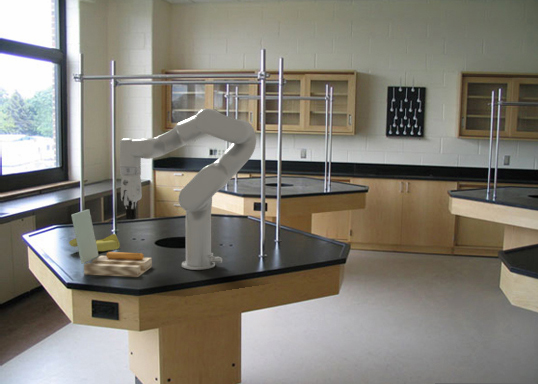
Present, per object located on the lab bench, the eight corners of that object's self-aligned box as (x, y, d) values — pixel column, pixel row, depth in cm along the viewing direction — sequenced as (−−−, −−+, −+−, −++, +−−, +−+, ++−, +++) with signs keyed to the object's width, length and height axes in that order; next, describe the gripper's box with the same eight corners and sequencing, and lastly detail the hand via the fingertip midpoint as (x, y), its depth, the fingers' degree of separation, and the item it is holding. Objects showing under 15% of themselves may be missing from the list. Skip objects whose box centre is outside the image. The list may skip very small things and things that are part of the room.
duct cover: (89, 209, 204) (86, 209, 204) (73, 214, 192) (71, 214, 192) (98, 255, 206) (96, 256, 206) (83, 263, 194) (81, 263, 194)
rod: (144, 259, 202) (144, 252, 202) (142, 260, 200) (142, 254, 199) (108, 257, 204) (107, 251, 204) (105, 258, 202) (105, 252, 201)
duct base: (151, 266, 205) (151, 257, 204) (138, 276, 191) (137, 267, 190) (101, 264, 207) (101, 255, 207) (84, 274, 193) (83, 264, 193)
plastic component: (102, 239, 241) (116, 232, 236) (107, 255, 240) (121, 248, 235) (64, 244, 225) (78, 236, 220) (68, 261, 223) (83, 253, 218)
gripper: (132, 173, 198) (133, 222, 200) (147, 169, 212) (147, 216, 214) (112, 172, 198) (113, 221, 201) (128, 169, 213) (129, 215, 215)
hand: (131, 218), depth 208 cm, fingers closed
